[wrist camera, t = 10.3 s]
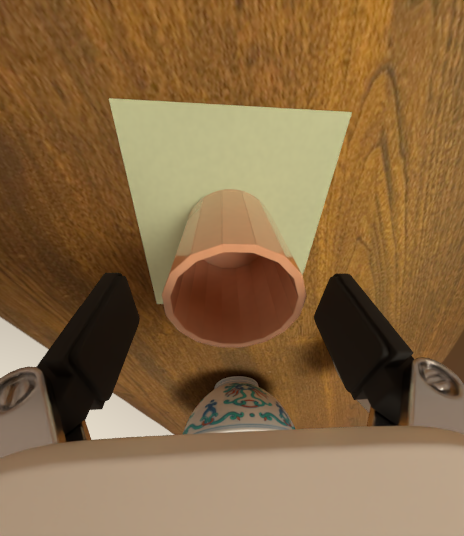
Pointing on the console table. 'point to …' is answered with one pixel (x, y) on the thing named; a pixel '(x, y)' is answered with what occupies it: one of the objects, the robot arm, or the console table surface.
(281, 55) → the console table surface
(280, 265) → the cup
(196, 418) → the chinaware
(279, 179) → the mat
